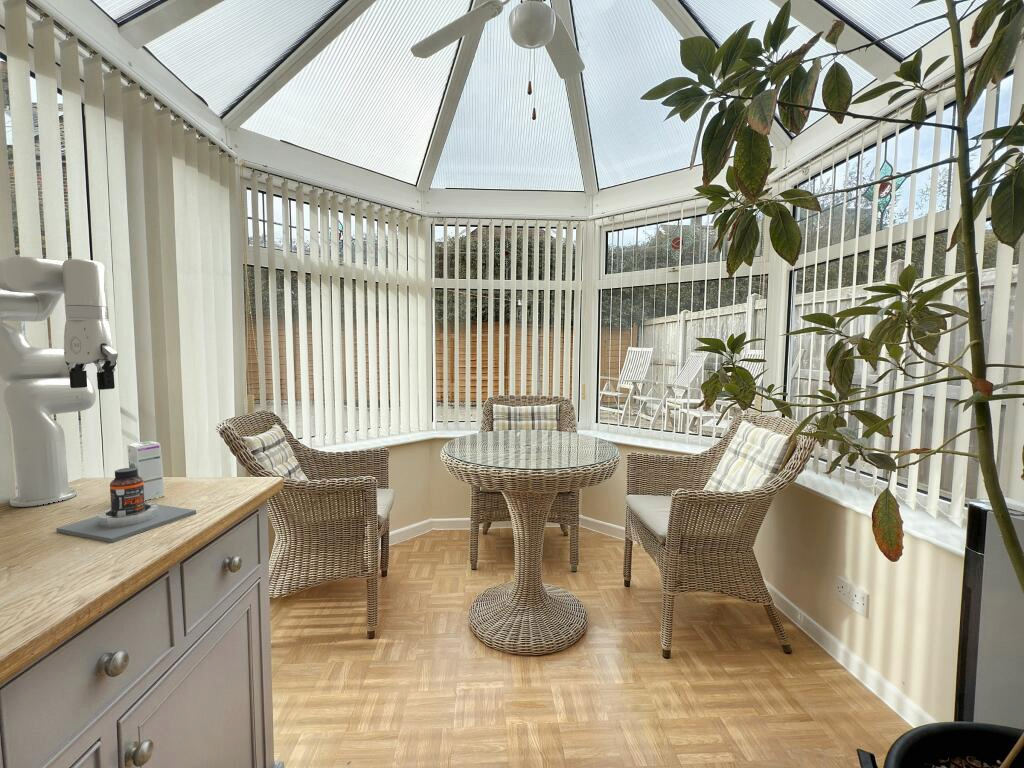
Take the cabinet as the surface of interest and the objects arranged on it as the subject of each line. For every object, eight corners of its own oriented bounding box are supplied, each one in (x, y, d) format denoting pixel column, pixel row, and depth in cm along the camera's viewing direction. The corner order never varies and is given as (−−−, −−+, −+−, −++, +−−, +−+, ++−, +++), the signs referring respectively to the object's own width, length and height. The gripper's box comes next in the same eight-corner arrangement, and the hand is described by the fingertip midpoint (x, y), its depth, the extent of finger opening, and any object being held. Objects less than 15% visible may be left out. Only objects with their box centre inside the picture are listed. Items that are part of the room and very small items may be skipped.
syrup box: (165, 496, 129) (162, 442, 128) (139, 502, 124) (135, 446, 123) (156, 492, 132) (152, 440, 131) (130, 498, 127) (126, 444, 126)
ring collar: (88, 524, 107) (87, 515, 107) (138, 508, 117) (137, 500, 116) (119, 529, 103) (119, 520, 103) (168, 513, 113) (168, 505, 113)
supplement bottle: (126, 524, 106) (123, 473, 106) (105, 522, 108) (101, 472, 107) (152, 514, 112) (148, 466, 111) (131, 513, 114) (127, 465, 113)
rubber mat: (56, 531, 105) (56, 528, 104) (143, 505, 121) (143, 502, 121) (112, 542, 99) (112, 538, 98) (196, 513, 115) (195, 510, 115)
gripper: (44, 314, 112) (49, 388, 113) (93, 313, 106) (98, 391, 107) (82, 316, 119) (87, 385, 120) (130, 315, 113) (134, 388, 114)
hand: (92, 388), depth 114 cm, fingers open, 9 cm apart
